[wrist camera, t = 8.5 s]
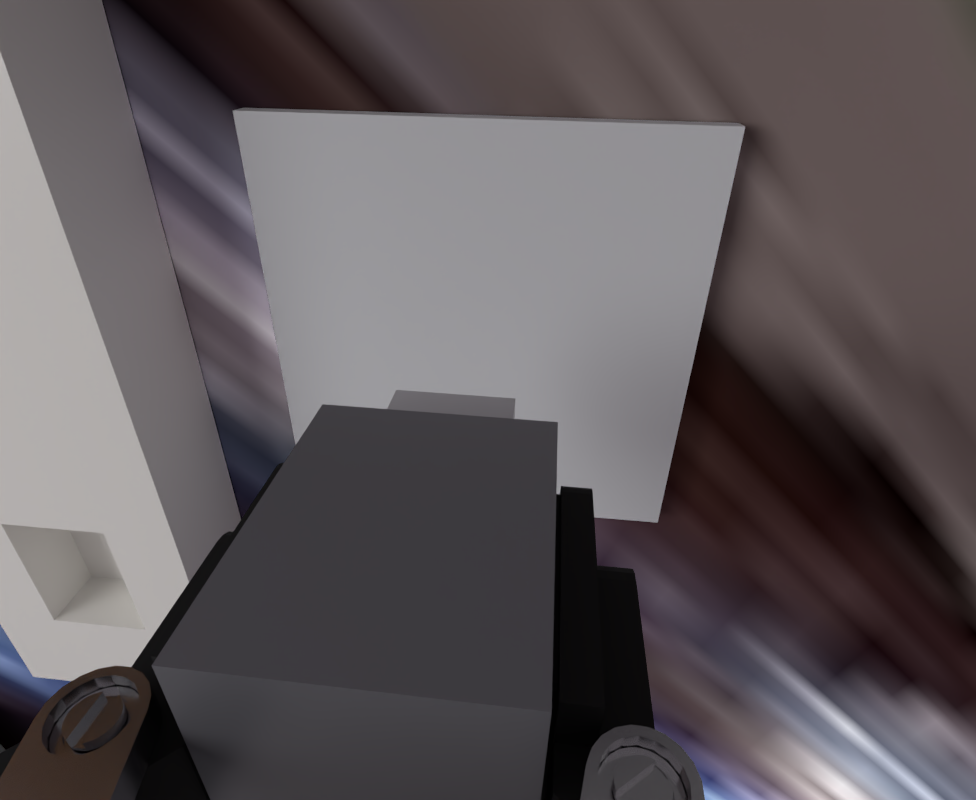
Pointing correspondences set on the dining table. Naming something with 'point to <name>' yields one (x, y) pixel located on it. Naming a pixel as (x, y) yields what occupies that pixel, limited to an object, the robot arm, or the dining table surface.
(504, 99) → the dining table surface
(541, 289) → the felt pad
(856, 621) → the dining table surface
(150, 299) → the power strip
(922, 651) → the dining table surface
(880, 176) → the dining table surface
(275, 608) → the block
